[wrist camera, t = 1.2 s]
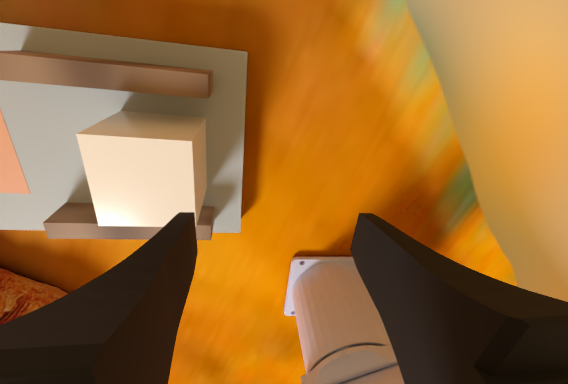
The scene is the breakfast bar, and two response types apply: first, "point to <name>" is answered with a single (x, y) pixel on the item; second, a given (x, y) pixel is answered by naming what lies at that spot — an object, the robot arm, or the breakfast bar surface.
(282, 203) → the breakfast bar surface
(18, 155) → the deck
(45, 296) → the croissant
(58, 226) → the parallel rails
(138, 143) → the cube
